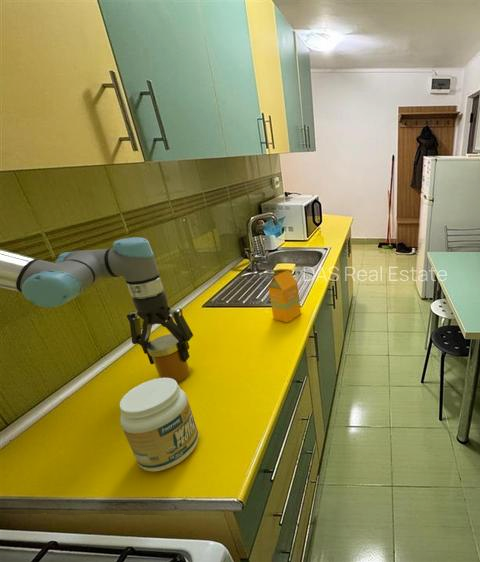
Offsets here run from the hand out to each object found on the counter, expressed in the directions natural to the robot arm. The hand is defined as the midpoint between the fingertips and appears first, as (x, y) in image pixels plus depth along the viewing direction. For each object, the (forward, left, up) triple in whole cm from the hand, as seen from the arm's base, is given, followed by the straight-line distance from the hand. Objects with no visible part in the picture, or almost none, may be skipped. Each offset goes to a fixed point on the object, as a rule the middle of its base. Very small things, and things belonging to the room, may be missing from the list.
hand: (170, 360), depth 93 cm
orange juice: (+23, +39, -6) cm, 46 cm away
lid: (0, 0, +6) cm, 6 cm away
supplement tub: (+16, -25, -6) cm, 30 cm away
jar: (0, 0, -6) cm, 6 cm away
